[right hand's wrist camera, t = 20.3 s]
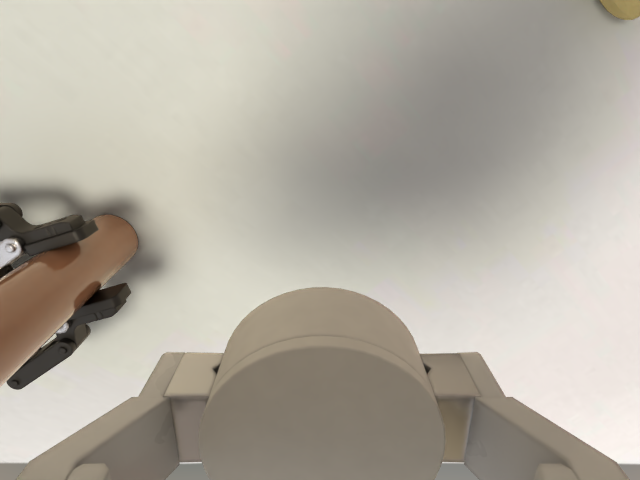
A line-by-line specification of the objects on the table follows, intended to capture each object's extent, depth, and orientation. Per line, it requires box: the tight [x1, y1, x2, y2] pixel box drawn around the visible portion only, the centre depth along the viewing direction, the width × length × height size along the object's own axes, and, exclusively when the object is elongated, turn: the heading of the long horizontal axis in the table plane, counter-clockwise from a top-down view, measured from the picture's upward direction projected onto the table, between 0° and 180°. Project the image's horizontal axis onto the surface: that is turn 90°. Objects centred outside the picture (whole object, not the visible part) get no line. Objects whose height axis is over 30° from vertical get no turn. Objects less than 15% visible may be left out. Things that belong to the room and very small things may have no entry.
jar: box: [0, 215, 138, 387], centre depth 25 cm, size 4×4×18 cm
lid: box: [199, 287, 446, 480], centre depth 10 cm, size 5×5×2 cm
